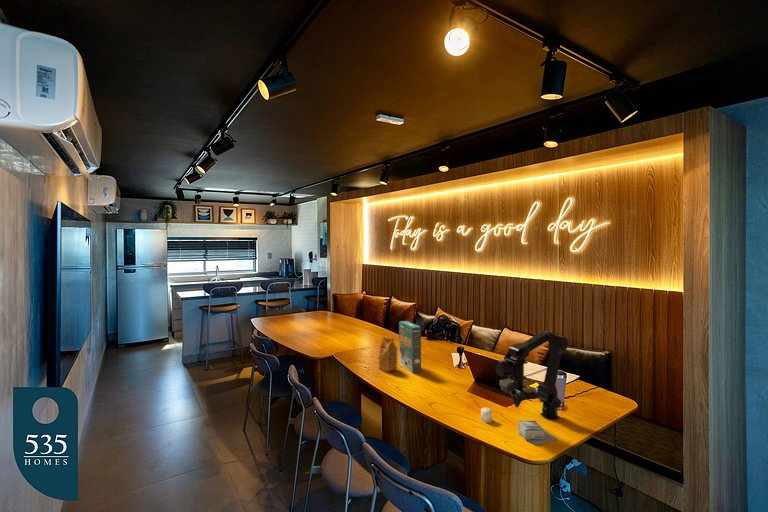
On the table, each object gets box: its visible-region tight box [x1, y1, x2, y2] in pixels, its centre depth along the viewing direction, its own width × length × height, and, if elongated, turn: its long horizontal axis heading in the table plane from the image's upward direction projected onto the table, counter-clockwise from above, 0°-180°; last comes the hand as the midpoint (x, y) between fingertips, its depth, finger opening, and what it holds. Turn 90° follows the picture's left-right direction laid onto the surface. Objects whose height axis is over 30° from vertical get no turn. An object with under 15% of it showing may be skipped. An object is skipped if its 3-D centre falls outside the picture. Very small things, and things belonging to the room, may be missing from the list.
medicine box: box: [517, 420, 545, 441], centre depth 158 cm, size 8×4×9 cm
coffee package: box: [378, 335, 398, 373], centre depth 247 cm, size 10×12×22 cm
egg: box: [480, 407, 493, 424], centre depth 173 cm, size 5×5×5 cm
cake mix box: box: [398, 320, 422, 374], centre depth 250 cm, size 22×6×30 cm, turn 22°
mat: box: [518, 430, 559, 446], centre depth 157 cm, size 12×10×1 cm
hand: (516, 406), depth 169 cm, fingers closed
